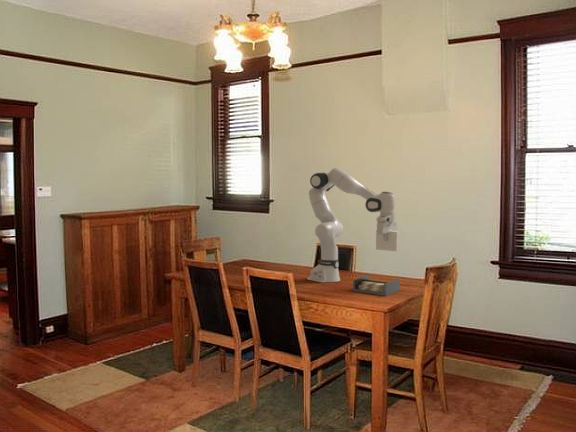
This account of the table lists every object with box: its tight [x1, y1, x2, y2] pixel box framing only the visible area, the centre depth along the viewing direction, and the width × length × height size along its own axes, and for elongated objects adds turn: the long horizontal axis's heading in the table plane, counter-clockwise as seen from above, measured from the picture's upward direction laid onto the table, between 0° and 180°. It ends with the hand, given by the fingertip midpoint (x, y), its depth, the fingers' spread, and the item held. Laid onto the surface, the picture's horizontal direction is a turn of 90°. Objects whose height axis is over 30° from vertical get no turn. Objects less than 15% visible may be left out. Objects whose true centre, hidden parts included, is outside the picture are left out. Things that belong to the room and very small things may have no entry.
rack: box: [352, 274, 401, 297], centre depth 324 cm, size 22×18×7 cm
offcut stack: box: [359, 281, 384, 292], centre depth 321 cm, size 16×6×4 cm, turn 52°
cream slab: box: [375, 229, 400, 252], centre depth 335 cm, size 14×3×12 cm, turn 52°
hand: (387, 240), depth 335 cm, fingers closed on cream slab, 3 cm apart
